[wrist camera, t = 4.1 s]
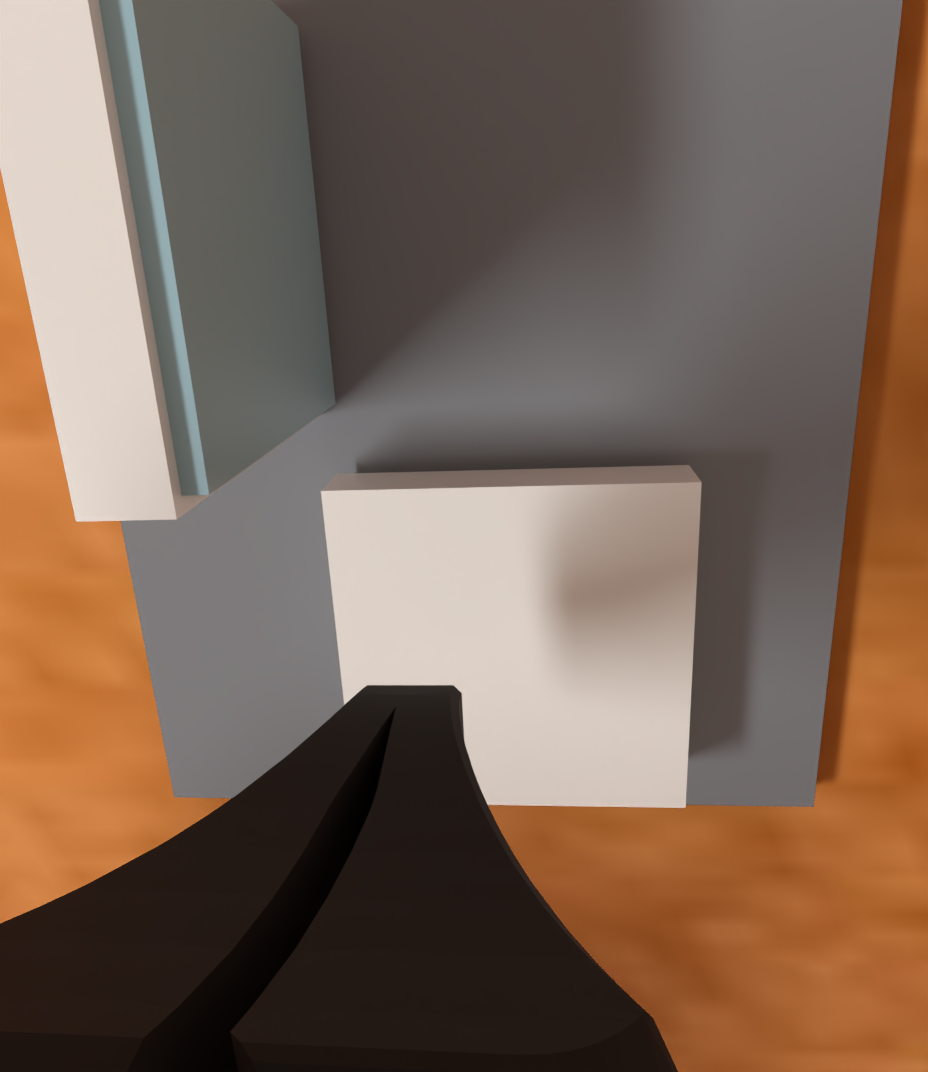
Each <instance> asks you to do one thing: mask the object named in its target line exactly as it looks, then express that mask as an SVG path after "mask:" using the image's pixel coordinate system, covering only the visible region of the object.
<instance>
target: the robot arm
mask: <svg viewBox="0 0 928 1072" xmlns="http://www.w3.org/2000/svg"><path fill="white" fill-rule="evenodd" d="M0 1072H678V1071H677V1069H676V1067H675V1064H674V1062H673V1060H672V1058H671V1056H670V1054H669V1051H668V1049H667V1047H666V1045H665V1043H664V1041H663V1038H662V1036H661V1034H660V1032H659V1030H658V1028H657V1026H656V1023H655V1021H654V1019H653V1018H652V1017H651V1016H650V1015H649V1014H648V1013H647V1012H646V1011H645V1010H644V1009H643V1008H642V1007H641V1006H639V1005H638V1004H637V1003H636V1002H635V1001H634V1000H633V999H632V998H631V997H630V996H629V995H628V994H627V993H626V992H625V991H624V990H623V989H622V988H621V987H620V986H619V985H618V984H617V983H616V982H615V981H614V980H613V979H612V978H611V977H610V976H609V975H608V974H607V973H606V972H605V971H604V970H603V969H602V968H601V967H600V966H599V965H598V964H597V963H596V962H595V961H594V959H593V958H592V957H591V956H590V955H589V954H588V953H587V951H586V950H585V949H584V948H583V947H582V946H581V945H580V944H579V942H578V941H577V940H576V939H575V938H574V937H573V936H572V935H571V933H570V932H569V931H568V930H567V928H566V927H565V926H564V925H563V923H562V922H561V921H560V919H559V918H558V917H557V915H556V914H555V913H554V911H553V910H552V909H551V907H550V906H549V905H548V903H547V902H546V901H545V900H544V898H543V897H542V896H541V894H540V893H539V892H538V890H537V889H536V888H535V886H534V885H533V884H532V882H531V881H530V879H529V878H528V876H527V875H526V873H525V871H524V870H523V868H522V867H521V865H520V864H519V862H518V860H517V859H516V857H515V856H514V854H513V852H512V851H511V849H510V847H509V845H508V844H507V842H506V840H505V838H504V837H503V835H502V833H501V831H500V829H499V827H498V825H497V823H496V822H495V820H494V817H493V815H492V813H491V811H490V809H489V807H488V805H487V802H486V800H485V798H484V796H483V793H482V791H481V789H480V786H479V784H478V781H477V779H476V776H475V774H474V771H473V768H472V765H471V762H470V758H469V755H468V752H467V749H466V746H465V742H464V727H463V709H462V693H461V692H460V691H459V690H458V689H457V688H456V687H455V686H454V685H367V686H365V687H364V688H363V689H362V690H361V691H359V692H358V693H357V694H356V695H355V696H354V697H353V698H351V699H350V700H349V701H348V702H347V703H346V704H345V705H344V706H343V707H342V708H341V709H339V710H338V711H337V712H336V713H335V714H334V715H333V716H332V717H331V718H330V719H328V720H327V721H326V722H325V723H324V724H323V725H322V726H321V727H320V728H318V729H317V730H316V731H315V732H314V733H313V734H311V735H310V736H309V737H308V738H307V739H306V740H305V741H303V742H302V743H301V744H300V745H299V746H298V747H297V748H295V749H294V750H293V751H292V752H291V753H290V754H288V755H287V756H286V757H285V758H284V759H282V760H281V761H280V762H278V763H277V764H276V765H275V766H273V767H272V768H271V769H269V770H268V771H267V772H266V773H264V774H263V775H262V776H260V777H259V778H258V779H257V780H255V781H254V782H253V783H252V784H250V785H249V786H248V787H246V788H245V789H244V790H243V791H241V792H240V793H239V794H237V795H236V796H235V797H233V798H232V799H231V800H229V801H228V802H226V803H225V804H223V805H222V806H221V807H219V808H218V809H216V810H215V811H213V812H212V813H210V814H209V815H207V816H206V817H204V818H203V819H201V820H200V821H198V822H196V823H195V824H193V825H192V826H190V827H189V828H187V829H185V830H184V831H182V832H181V833H179V834H178V835H176V836H174V837H173V838H171V839H169V840H168V841H166V842H164V843H163V844H161V845H159V846H158V847H156V848H154V849H152V850H150V851H148V852H147V853H145V854H143V855H141V856H139V857H137V858H135V859H134V860H132V861H130V862H128V863H126V864H124V865H122V866H121V867H119V868H117V869H115V870H113V871H111V872H109V873H108V874H106V875H104V876H102V877H100V878H98V879H96V880H95V881H93V882H91V883H89V884H87V885H85V886H83V887H81V888H79V889H77V890H75V891H72V892H70V893H68V894H66V895H64V896H62V897H60V898H57V899H55V900H53V901H51V902H49V903H47V904H44V905H42V906H40V907H38V908H36V909H33V910H31V911H29V912H26V913H24V914H22V915H19V916H17V917H15V918H12V919H10V920H8V921H5V922H3V923H1V924H0Z"/></svg>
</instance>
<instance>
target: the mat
mask: <svg viewBox="0 0 928 1072" xmlns="http://www.w3.org/2000/svg"><path fill="white" fill-rule="evenodd" d="M272 1H273V2H274V3H275V4H276V5H277V6H278V7H279V8H280V9H281V10H282V11H283V12H284V13H285V14H286V15H287V16H288V17H289V18H290V19H291V20H292V21H293V22H294V23H295V24H296V25H297V26H298V31H299V41H300V51H301V61H302V72H303V82H304V92H305V102H306V112H307V122H308V132H309V142H310V152H311V162H312V172H313V182H314V192H315V202H316V212H317V222H318V232H319V242H320V253H321V263H322V273H323V283H324V293H325V303H326V313H327V323H328V333H329V343H330V353H331V363H332V373H333V383H334V393H335V403H336V404H335V405H333V406H332V407H331V408H329V409H328V410H326V411H325V412H324V413H322V415H320V416H319V417H318V418H316V419H315V420H314V421H312V422H311V423H309V424H308V425H307V426H305V427H304V428H302V429H301V430H300V431H298V432H297V433H296V434H294V435H293V436H291V437H290V438H289V439H287V440H286V441H285V442H283V443H282V444H280V445H279V446H278V447H276V448H275V449H273V450H272V451H271V452H269V453H268V454H267V455H265V456H264V457H262V458H261V459H260V460H258V461H257V462H256V463H254V464H253V465H251V466H250V467H249V468H247V469H246V470H244V471H243V472H242V473H240V474H239V475H238V476H236V477H235V478H233V479H232V480H231V481H229V482H228V483H226V484H225V485H224V486H222V487H221V488H220V489H218V490H217V491H215V492H214V493H213V494H211V495H210V496H209V497H207V498H206V499H204V500H203V501H202V502H200V503H199V504H197V505H196V506H195V507H193V508H192V509H191V510H189V511H188V512H186V513H185V514H184V515H182V516H181V517H180V518H178V519H177V520H129V521H121V526H122V531H123V536H124V541H125V547H126V552H127V557H128V562H129V567H130V572H131V577H132V582H133V588H134V593H135V598H136V603H137V608H138V613H139V618H140V623H141V629H142V634H143V639H144V644H145V649H146V654H147V659H148V664H149V670H150V675H151V680H152V685H153V690H154V695H155V700H156V706H157V711H158V716H159V721H160V726H161V731H162V736H163V741H164V747H165V752H166V757H167V762H168V767H169V772H170V777H171V782H172V788H173V793H174V797H195V798H233V797H235V796H236V795H237V794H239V793H240V792H241V791H243V790H244V789H245V788H246V787H248V786H249V785H250V784H252V783H253V782H254V781H255V780H257V779H258V778H259V777H260V776H262V775H263V774H264V773H266V772H267V771H268V770H269V769H271V768H272V767H273V766H275V765H276V764H277V763H278V762H280V761H281V760H282V759H284V758H285V757H286V756H287V755H288V754H290V753H291V752H292V751H293V750H294V749H295V748H297V747H298V746H299V745H300V744H301V743H302V742H303V741H305V740H306V739H307V738H308V737H309V736H310V735H311V734H313V733H314V732H315V731H316V730H317V729H318V728H320V727H321V726H322V725H323V724H324V723H325V722H326V721H327V720H328V719H330V718H331V717H332V716H333V715H334V714H335V713H336V712H337V711H338V710H339V709H341V708H342V707H343V706H344V699H343V690H342V680H341V671H340V662H339V653H338V644H337V635H336V626H335V616H334V607H333V598H332V589H331V580H330V571H329V561H328V552H327V543H326V534H325V525H324V516H323V506H322V497H321V490H322V489H323V488H324V487H325V486H326V485H327V484H328V483H329V482H330V481H331V480H332V478H333V477H334V476H335V475H336V474H349V473H388V472H428V471H468V470H507V469H547V468H587V467H626V466H666V465H689V466H690V467H691V468H692V470H693V471H694V473H695V474H696V475H697V477H698V478H699V479H700V481H701V482H702V485H701V505H700V525H699V546H698V566H697V586H696V607H695V627H694V647H693V667H692V688H691V708H690V728H689V749H688V769H687V789H686V805H730V806H797V807H814V799H815V789H816V780H817V771H818V762H819V753H820V744H821V735H822V726H823V717H824V708H825V699H826V690H827V681H828V672H829V663H830V654H831V645H832V636H833V627H834V618H835V609H836V600H837V591H838V581H839V572H840V563H841V554H842V545H843V536H844V527H845V518H846V509H847V500H848V491H849V482H850V473H851V464H852V455H853V446H854V437H855V428H856V419H857V410H858V401H859V392H860V383H861V373H862V364H863V355H864V346H865V337H866V328H867V319H868V310H869V301H870V292H871V283H872V274H873V265H874V256H875V247H876V238H877V229H878V220H879V211H880V202H881V193H882V184H883V174H884V165H885V156H886V147H887V138H888V129H889V120H890V111H891V102H892V93H893V84H894V75H895V66H896V57H897V48H898V39H899V30H900V21H901V12H902V3H903V0H272Z"/></svg>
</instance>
